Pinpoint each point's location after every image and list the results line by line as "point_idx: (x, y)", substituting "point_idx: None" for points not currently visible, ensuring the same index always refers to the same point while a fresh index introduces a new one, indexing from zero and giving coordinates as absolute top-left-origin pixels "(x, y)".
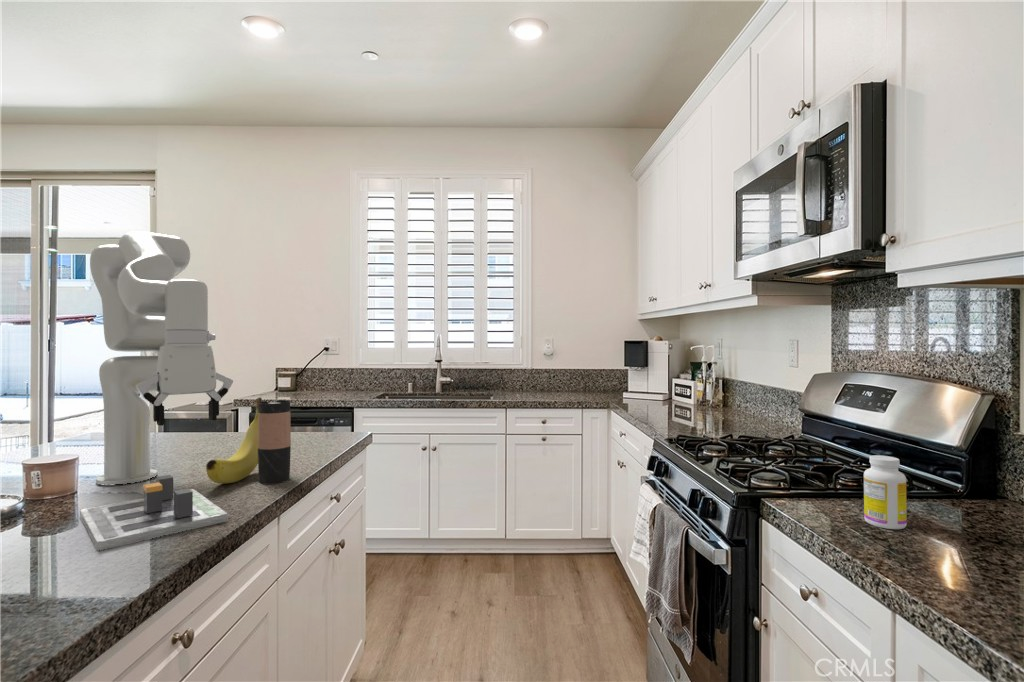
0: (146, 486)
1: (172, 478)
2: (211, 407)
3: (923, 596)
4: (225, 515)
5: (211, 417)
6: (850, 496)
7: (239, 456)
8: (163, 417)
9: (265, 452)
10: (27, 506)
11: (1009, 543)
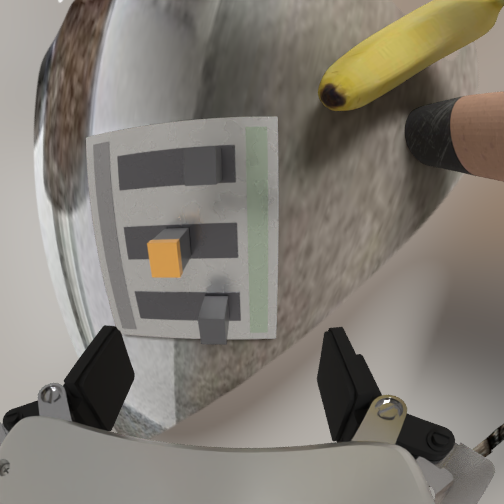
0: (152, 264)
1: (214, 184)
2: (331, 408)
3: None
4: (272, 337)
5: (321, 372)
6: (490, 443)
7: (408, 54)
8: (123, 396)
9: (451, 154)
10: (60, 32)
11: None
